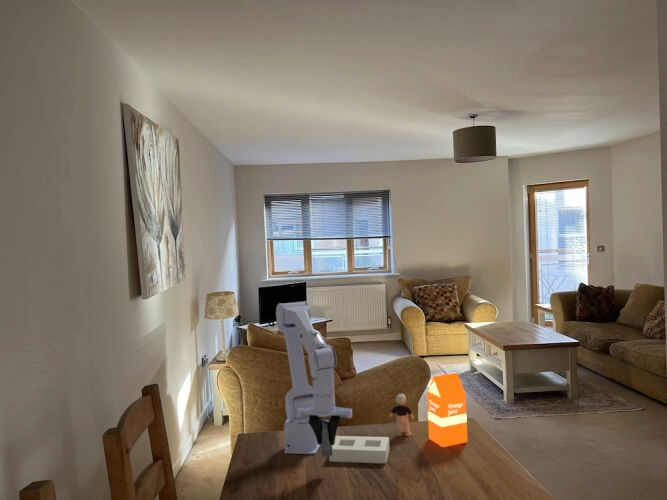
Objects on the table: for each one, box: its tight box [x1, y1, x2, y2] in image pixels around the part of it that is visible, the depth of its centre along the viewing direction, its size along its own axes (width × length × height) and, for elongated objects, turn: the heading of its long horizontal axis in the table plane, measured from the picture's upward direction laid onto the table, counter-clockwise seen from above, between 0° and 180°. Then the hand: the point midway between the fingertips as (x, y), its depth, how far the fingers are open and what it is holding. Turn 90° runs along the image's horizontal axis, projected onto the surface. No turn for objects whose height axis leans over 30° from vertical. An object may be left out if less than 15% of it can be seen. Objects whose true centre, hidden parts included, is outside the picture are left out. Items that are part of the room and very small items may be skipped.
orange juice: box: [426, 372, 468, 448], centre depth 159 cm, size 8×9×20 cm
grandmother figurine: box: [389, 393, 415, 437], centre depth 165 cm, size 8×4×13 cm, turn 84°
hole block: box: [328, 435, 390, 464], centre depth 151 cm, size 16×10×4 cm, turn 79°
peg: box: [320, 418, 332, 457], centre depth 141 cm, size 3×3×9 cm
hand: (326, 443), depth 141 cm, fingers closed on peg, 3 cm apart
